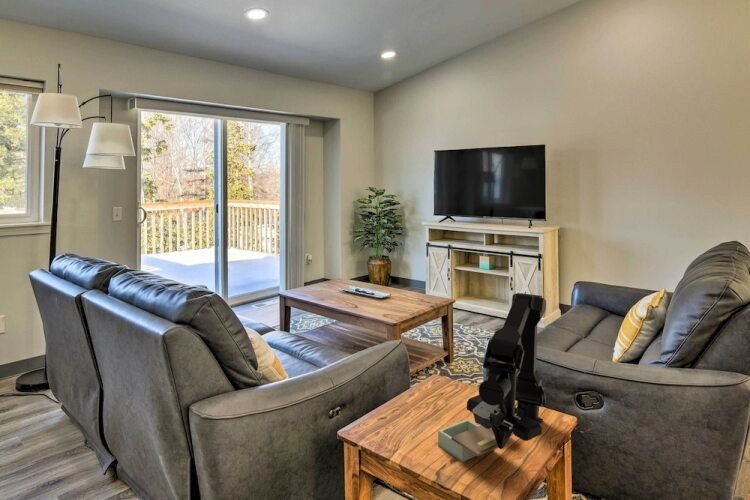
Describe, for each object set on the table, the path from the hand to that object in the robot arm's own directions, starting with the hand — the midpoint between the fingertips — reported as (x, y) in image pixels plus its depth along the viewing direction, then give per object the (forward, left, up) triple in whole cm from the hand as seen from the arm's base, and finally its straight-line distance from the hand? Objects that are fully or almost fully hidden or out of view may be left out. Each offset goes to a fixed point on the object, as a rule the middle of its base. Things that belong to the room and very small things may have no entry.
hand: (500, 448), depth 112 cm
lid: (0, -7, -1) cm, 7 cm away
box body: (0, -12, -6) cm, 13 cm away
